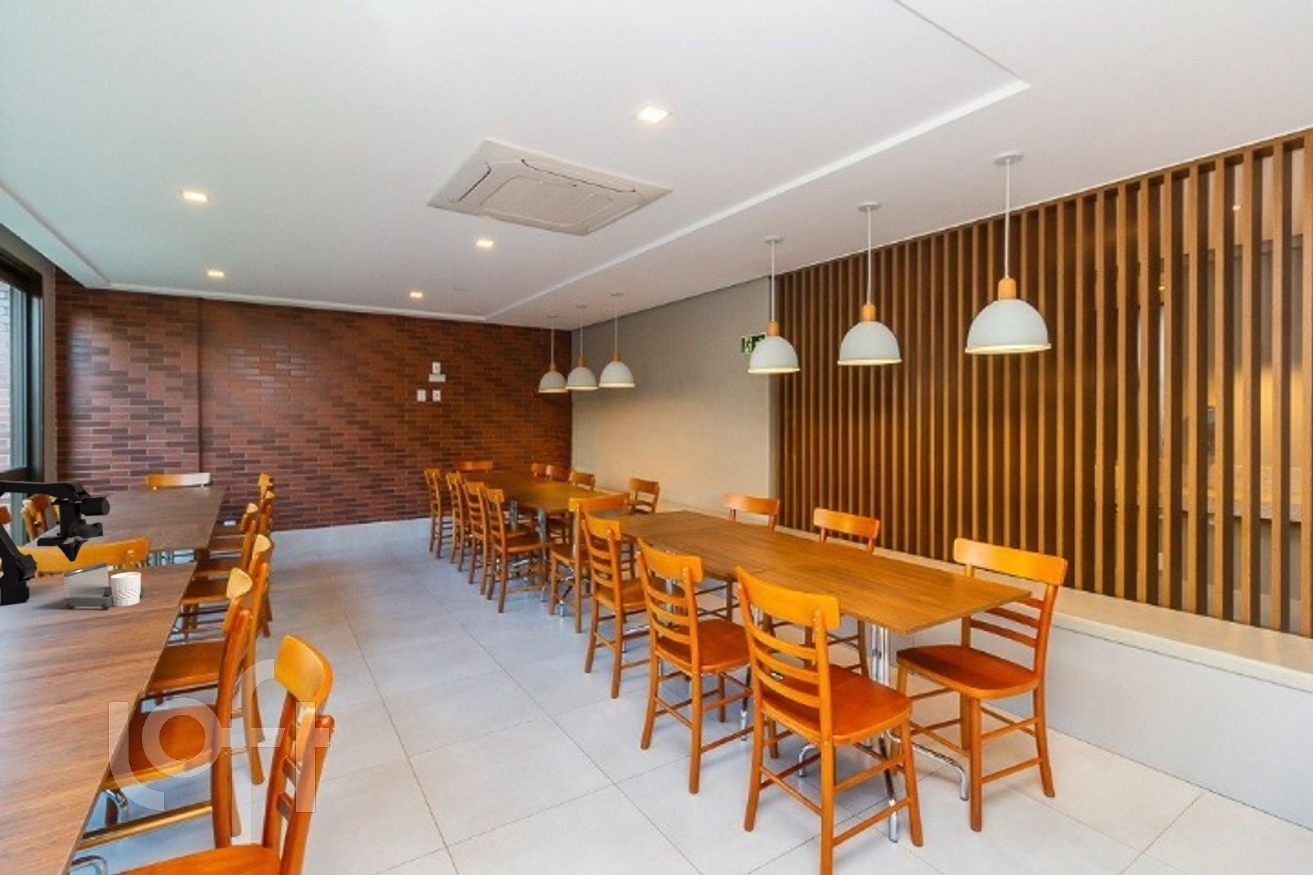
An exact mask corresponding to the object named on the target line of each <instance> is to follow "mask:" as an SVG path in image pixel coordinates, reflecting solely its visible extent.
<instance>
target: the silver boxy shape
mask: <svg viewBox="0 0 1313 875" xmlns="http://www.w3.org/2000/svg"><path fill="white" fill-rule="evenodd" d="M144 595H145V585H144V586H141V589H140V599H141V598H143V597H144ZM63 597H64V600H63V602H64V607H65V608H66V609H67V610H72V609H74V608H76V607H90V608H91V607H93V608H94V607H96V608H97V607H99V608H100V607H101V609H103V610H108V609H110V608H111V607H112V606H113V597H112V589H111V585H109V566H108V562H103V563H102V562H101V563H99V564H95V565H91V566H86V567H83V568H80V569H79V568H78V569H74V570H71V571H67V572H65V573H64V574H63Z"/></svg>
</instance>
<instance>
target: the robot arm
mask: <svg viewBox="0 0 1313 875" xmlns="http://www.w3.org/2000/svg"><path fill="white" fill-rule="evenodd" d="M6 493H12V494H34V495H46V496H48V497H52V498H55V499H54V501H53V502H50V504H49V505H50V506H58V519H59V520H56V521H55V524H56V525H59V532H56V535H48V536H42V537H39V538H38V539H37V540H36V546H37V547H57V548H58V549H60V550H61V552H62V553H63V554H64V555H65V557H66V558H67V560H68V561H69V562H71V563H72V562H75V561H76V559H77V556H78V554H79V552H80V550H81V547H82V546H83V545H84V544H85V543H87V542H89V540H90V539H92V538H98V537H99V538H100V537H103V536H104V530H103V529H104V528H103V523H102V522H99V521H98V522H93V523H90V524H88V523H87V519H86V518H82V515H83V516H85V517H98V516H99V517H103V516H108V515H109V513H110V510H111V503H110V502H109V500H108V499H107V496H106V495H102V496H93V495H91V494H90V493H88V491H87V490H86V489H85V488H84V486H83V484H82V483H81V481H78V480H67V481H66V480H65V481H57V482H56V481H55V482H38V481H35V482H34V481H20V480H18V481H17V480H16V481H15V480H8V479H3V480H0V498H1V497H3V496H4V494H6ZM33 557H34V556H33V555H32V553H28V554H26V555H25V554H24V553H22V552H21V551H20V550H19V549H18V547H17V546H16V544H15V542H14V541H13V539H12V538H11V536H10V535H9V532H8V531H7V530H6V528H5V527H4V525H3V524H2V522H1V521H0V561H1V564H0V568H1V572H2V575H1V576H0V606H6V605H12V604H13V605H15V604H22V603H27V602H28V600H30V598H31V587H30V585H28V582H29V581H30V580H31V579H32V578H33V577H32V576H34V575H35V574H36V572H37V570H38V566H37V565H38V562H37V561H36V560H35V559H34V558H33Z"/></svg>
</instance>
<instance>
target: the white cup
mask: <svg viewBox="0 0 1313 875" xmlns="http://www.w3.org/2000/svg"><path fill="white" fill-rule="evenodd" d="M141 580H142V572H139V571H129V572H121V573H116V574H113V575H111V576H110V586H111V589H112V595H111V597H112V605H113V606H114V607H119V608H121V607H122V608H123V607H128V606H133V605H137V604H140V601H141V600H140V599H141V598H140V589H141V584H142V581H141Z"/></svg>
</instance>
